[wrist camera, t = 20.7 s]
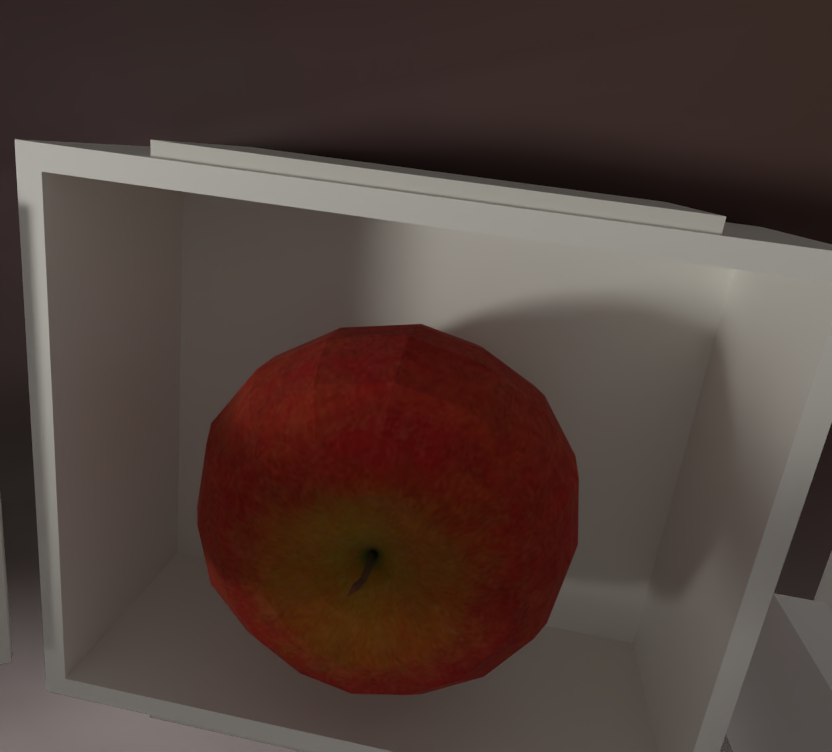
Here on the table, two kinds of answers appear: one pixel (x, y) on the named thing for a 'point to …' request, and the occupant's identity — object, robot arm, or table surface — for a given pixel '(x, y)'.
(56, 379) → the carton
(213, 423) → the apple
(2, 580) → the flap
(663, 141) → the table surface
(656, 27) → the table surface
